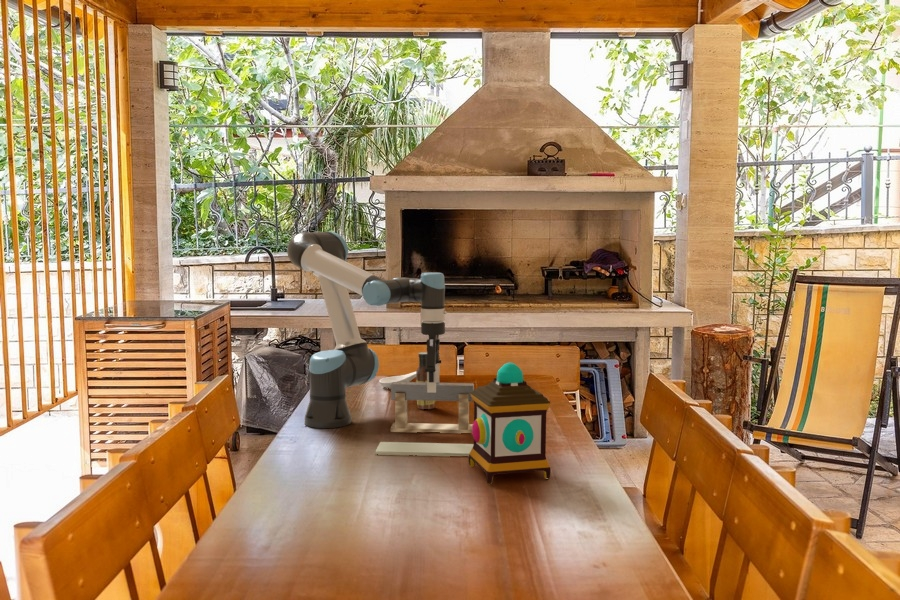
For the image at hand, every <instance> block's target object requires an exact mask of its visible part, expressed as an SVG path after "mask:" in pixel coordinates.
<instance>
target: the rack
mask: <svg viewBox="0 0 900 600" xmlns="http://www.w3.org/2000/svg"><path fill="white" fill-rule="evenodd" d="M394 401H395V402H394V404H395V405H394V412H395V413H394V419H395V420H394V421H395V422H393V423H392V424H391V427H390V433H417V432H440V433H439V434H461V433H472V427H473V423H472V424H470V401H468V394H459V401H458V421H457V422H458V423H425V422H424V423H422V422H420V423H419V422H417V423H416V422H408V400H405V393H395V400H394Z"/></svg>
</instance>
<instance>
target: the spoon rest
mask: <svg viewBox="0 0 900 600" xmlns="http://www.w3.org/2000/svg"><path fill="white" fill-rule="evenodd" d="M416 378H417V377H416V371H413V372H410V373H407V374H402V375H394V376H392V375H391V376H388V377H383V378H380V379H379V382H378V383H379V384H380V385H381V386H382V387H384V388H385V389H387V388H389V389H388V390H391V384H392V382H412V380H413V379H416Z"/></svg>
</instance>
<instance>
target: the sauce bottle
mask: <svg viewBox="0 0 900 600" xmlns="http://www.w3.org/2000/svg"><path fill="white" fill-rule="evenodd" d="M418 362H419V363H418V368H416V371H415V372H416V377H415V378H416V380H415V382H427V372H425V369H426V368H427V351H426V352H425V351H424V352H423V351H421V352H418ZM435 403H436V401H425V400H416V404H417V408H418V410H424V409H428V410H432V409H434V408H435Z"/></svg>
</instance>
